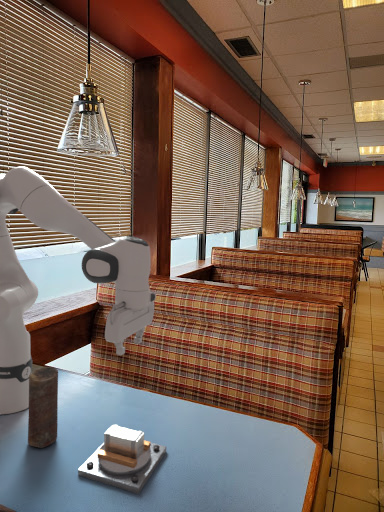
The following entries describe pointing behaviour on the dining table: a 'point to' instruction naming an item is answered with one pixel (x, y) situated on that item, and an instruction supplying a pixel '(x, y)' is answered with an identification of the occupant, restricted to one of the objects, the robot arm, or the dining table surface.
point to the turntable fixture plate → (123, 467)
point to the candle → (43, 407)
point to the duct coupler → (124, 442)
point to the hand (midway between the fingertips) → (129, 348)
